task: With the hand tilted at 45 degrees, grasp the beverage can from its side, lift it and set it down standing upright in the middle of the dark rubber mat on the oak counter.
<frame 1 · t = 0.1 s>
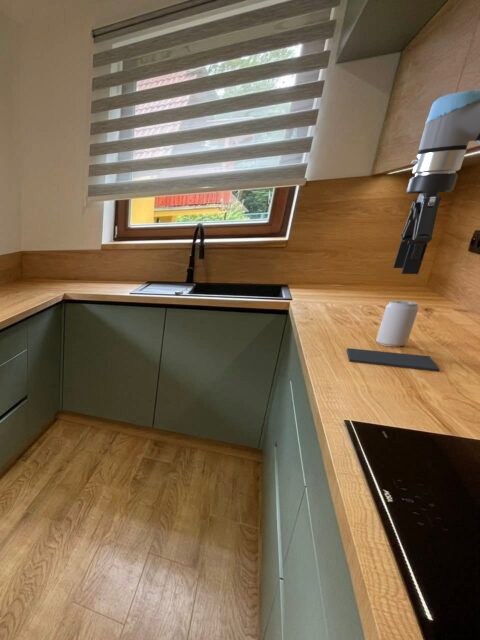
hand: (404, 270, 103), 22 cm above the worktop, tool pointing down, fingers open, 13 cm apart
beverage can: (390, 345, 121), on the worktop
mat: (388, 359, 109), on the worktop
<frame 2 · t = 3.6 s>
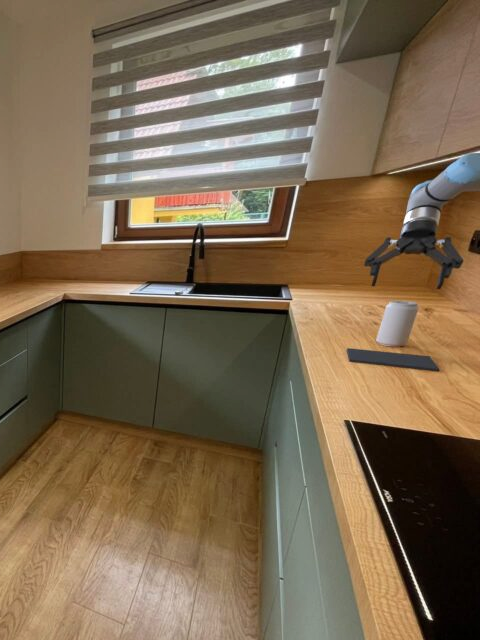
hand: (405, 284, 123), 15 cm above the worktop, tool tilted 45°, fingers open, 13 cm apart
nothing on the worktop moved.
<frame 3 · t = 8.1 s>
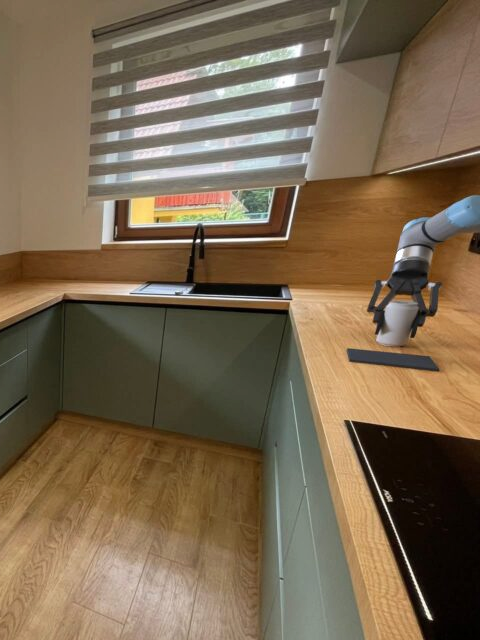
hand: (394, 333, 117), 4 cm above the worktop, tool tilted 45°, fingers closed on beverage can, 6 cm apart
beverage can: (390, 345, 121), on the worktop, touching gripper
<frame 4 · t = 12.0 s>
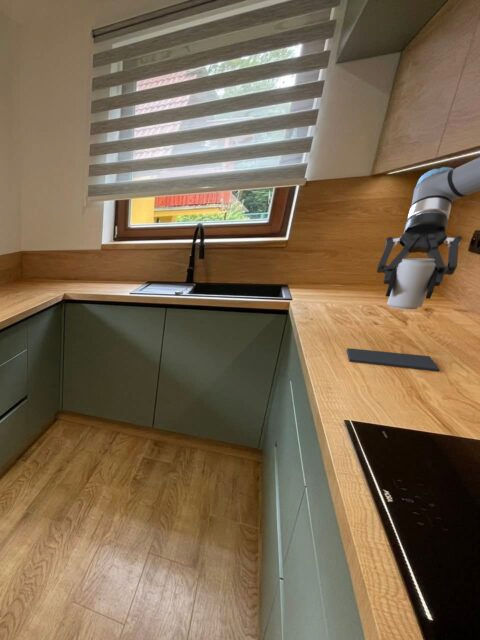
hand: (408, 294, 104), 16 cm above the worktop, tool tilted 45°, fingers closed on beverage can, 6 cm apart
beverage can: (403, 308, 108), point 12 cm above the worktop, touching gripper
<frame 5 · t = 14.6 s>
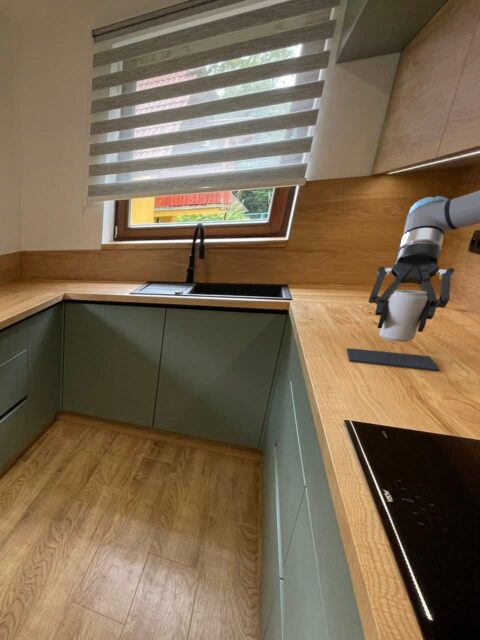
hand: (400, 326, 103), 9 cm above the worktop, tool tilted 45°, fingers closed on beverage can, 6 cm apart
beverage can: (394, 340, 107), point 5 cm above the worktop, touching gripper
when the fingers open (4 cm above the worktop, at t = 16.4 s): beverage can stays where it is, resting on mat.
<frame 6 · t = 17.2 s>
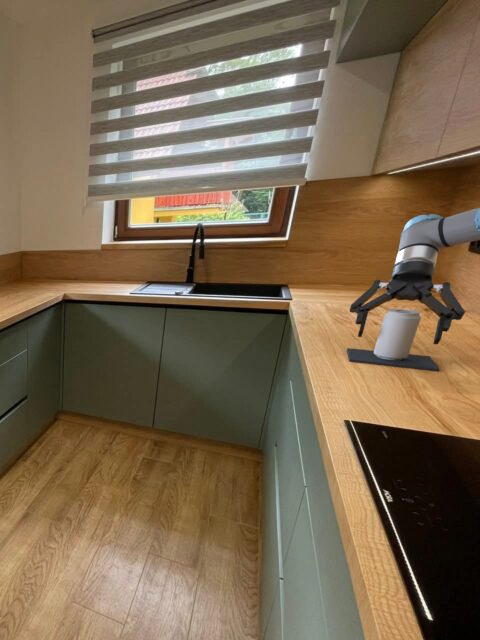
hand: (397, 337, 105), 6 cm above the worktop, tool tilted 45°, fingers open, 13 cm apart
beverage can: (389, 358, 109), resting on mat
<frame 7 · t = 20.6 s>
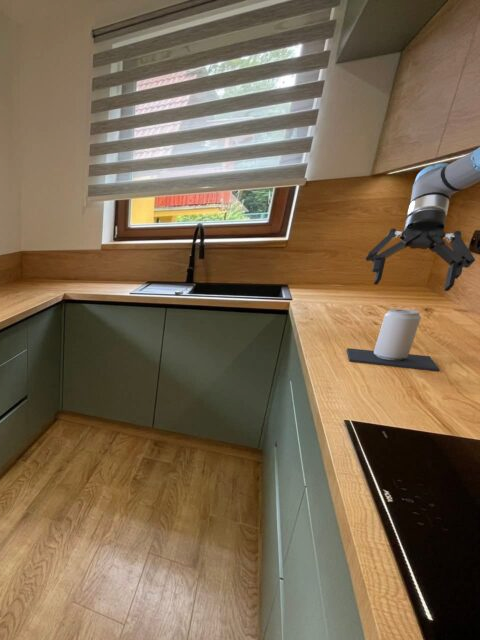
hand: (411, 284, 110), 17 cm above the worktop, tool tilted 40°, fingers open, 13 cm apart
nothing on the worktop moved.
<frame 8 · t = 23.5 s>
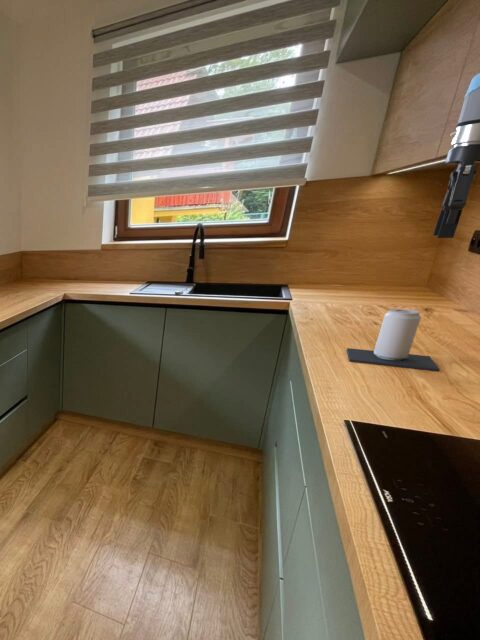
hand: (442, 236, 111), 29 cm above the worktop, tool pointing down, fingers open, 13 cm apart
nothing on the worktop moved.
at the end: beverage can inside the target area on the mat (0.1 cm from its centre), point 0.4 cm above the mat's base; beverage can tilted 0°; the gripper is holding nothing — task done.
